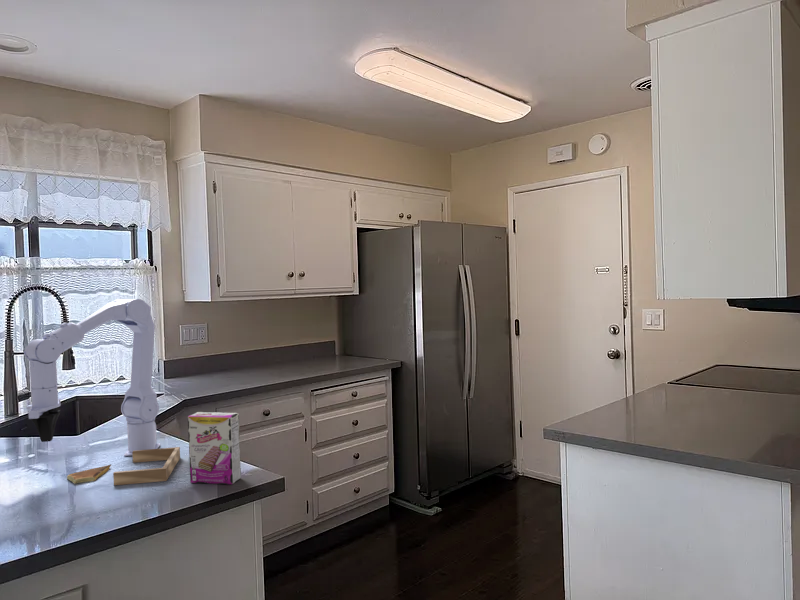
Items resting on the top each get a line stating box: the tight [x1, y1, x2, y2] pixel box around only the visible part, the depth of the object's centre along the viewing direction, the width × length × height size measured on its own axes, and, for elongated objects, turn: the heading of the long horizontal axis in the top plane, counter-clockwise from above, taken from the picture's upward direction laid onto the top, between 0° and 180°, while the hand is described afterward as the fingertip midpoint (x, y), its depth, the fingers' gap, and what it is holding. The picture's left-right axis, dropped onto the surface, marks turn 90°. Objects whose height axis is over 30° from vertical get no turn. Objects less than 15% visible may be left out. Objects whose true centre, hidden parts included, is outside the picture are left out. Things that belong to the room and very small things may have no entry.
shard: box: [66, 464, 112, 485], centre depth 150 cm, size 11×8×2 cm
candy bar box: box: [187, 411, 242, 485], centre depth 143 cm, size 11×5×16 cm, turn 80°
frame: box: [112, 446, 181, 486], centre depth 153 cm, size 19×12×3 cm, turn 11°
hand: (46, 441), depth 148 cm, fingers closed
